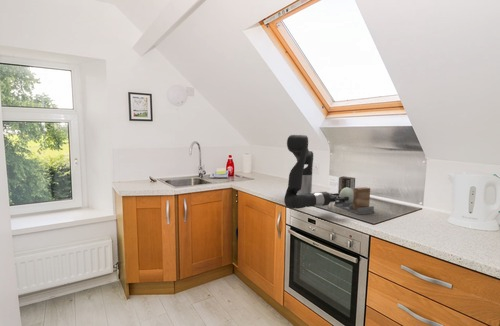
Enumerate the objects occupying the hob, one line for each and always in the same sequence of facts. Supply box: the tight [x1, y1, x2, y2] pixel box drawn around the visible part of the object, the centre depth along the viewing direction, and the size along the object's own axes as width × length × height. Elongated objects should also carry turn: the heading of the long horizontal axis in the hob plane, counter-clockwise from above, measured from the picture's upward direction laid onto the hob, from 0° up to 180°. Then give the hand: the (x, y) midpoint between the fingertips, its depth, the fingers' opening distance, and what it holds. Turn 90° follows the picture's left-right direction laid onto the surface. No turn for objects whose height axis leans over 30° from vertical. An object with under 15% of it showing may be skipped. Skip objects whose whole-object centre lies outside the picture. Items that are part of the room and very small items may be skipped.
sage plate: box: [339, 187, 354, 202], centre depth 177 cm, size 1×11×11 cm, turn 113°
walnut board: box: [353, 186, 371, 211], centre depth 165 cm, size 4×9×13 cm, turn 112°
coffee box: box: [337, 176, 356, 202], centre depth 191 cm, size 9×6×16 cm
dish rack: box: [333, 202, 375, 215], centre depth 172 cm, size 21×12×4 cm, turn 23°
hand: (343, 196), depth 159 cm, fingers open, 8 cm apart
